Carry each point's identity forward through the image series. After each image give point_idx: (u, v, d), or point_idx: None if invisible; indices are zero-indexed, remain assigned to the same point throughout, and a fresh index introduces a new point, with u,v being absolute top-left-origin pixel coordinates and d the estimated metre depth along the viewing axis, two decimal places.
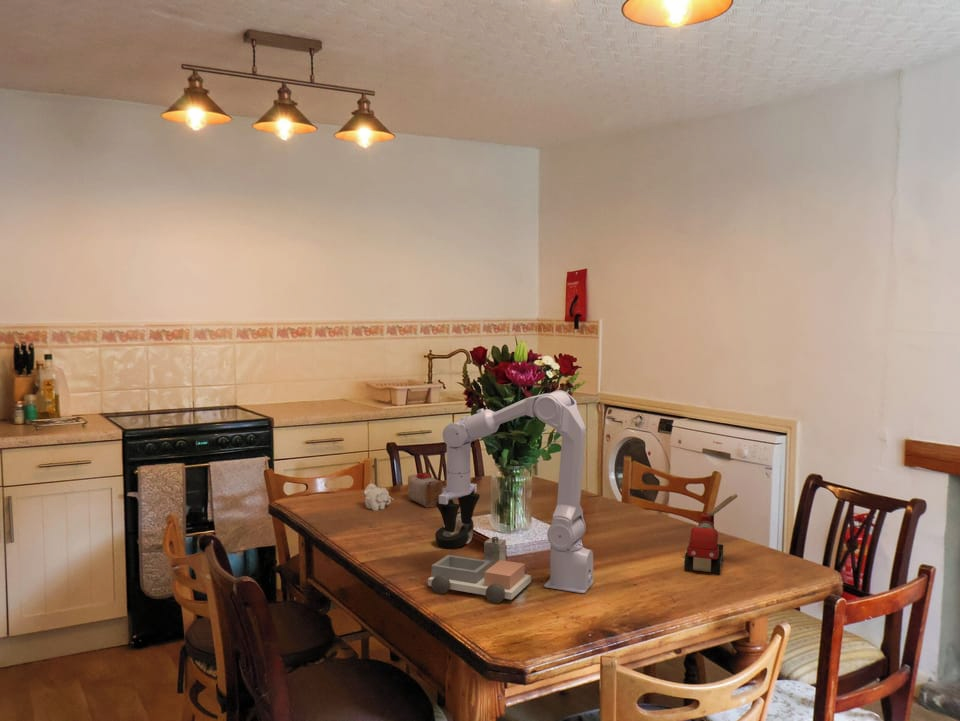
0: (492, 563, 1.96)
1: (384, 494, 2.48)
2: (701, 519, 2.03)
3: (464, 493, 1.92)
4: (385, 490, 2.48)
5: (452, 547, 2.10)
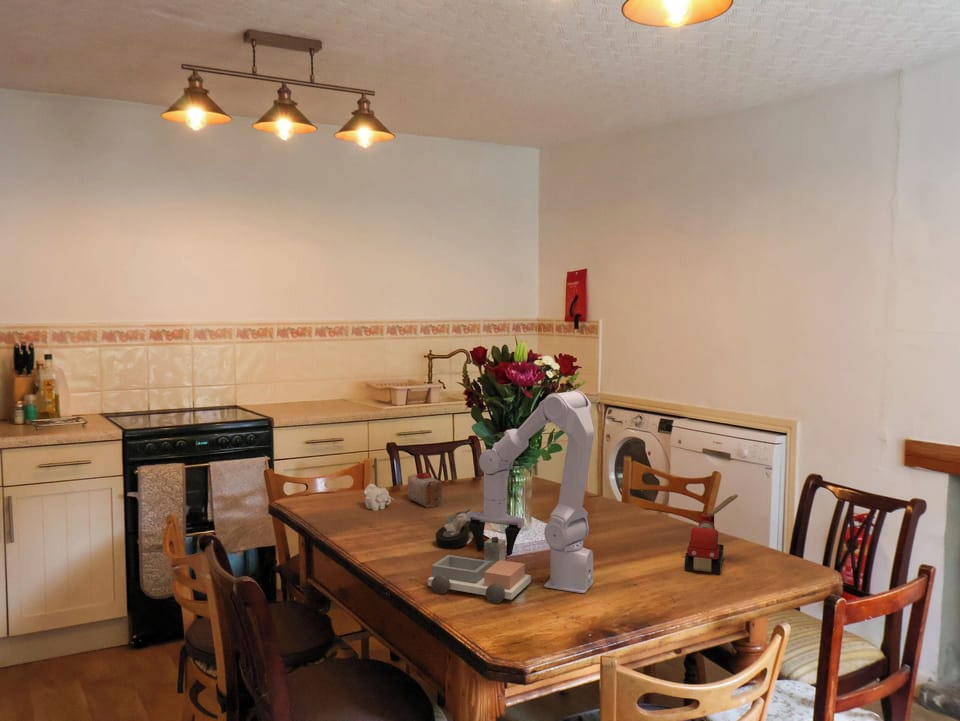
0: (492, 563, 1.96)
1: (384, 494, 2.48)
2: (702, 519, 2.03)
3: (484, 518, 1.96)
4: (385, 490, 2.48)
5: (452, 547, 2.10)
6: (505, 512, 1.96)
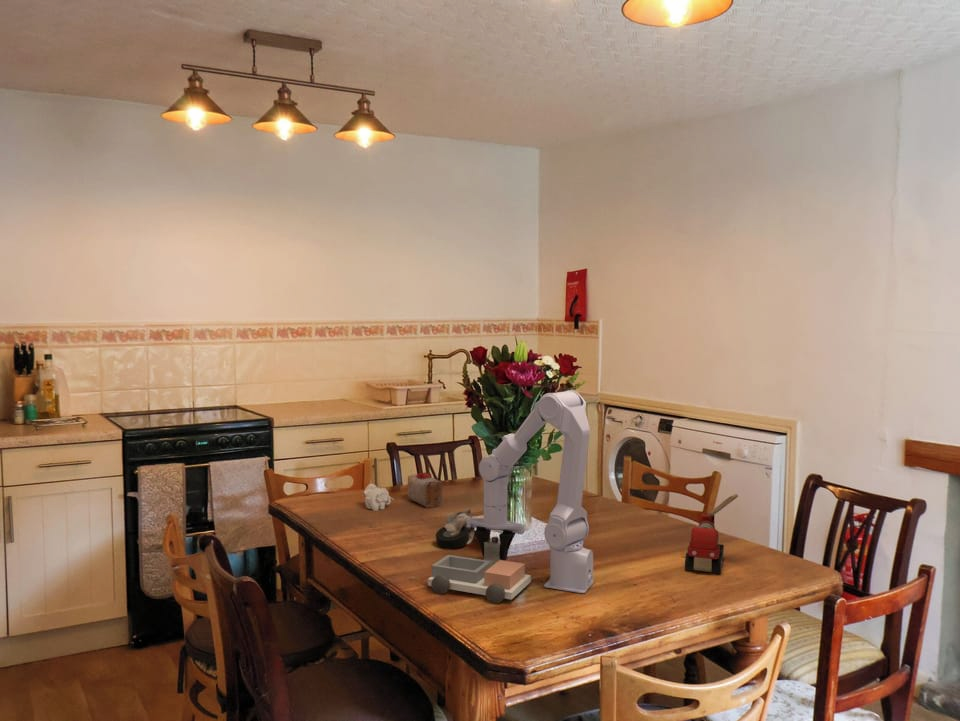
0: (492, 563, 1.96)
1: (384, 494, 2.48)
2: (702, 519, 2.02)
3: (484, 525, 1.96)
4: (385, 490, 2.48)
5: (452, 547, 2.10)
6: (505, 518, 1.96)
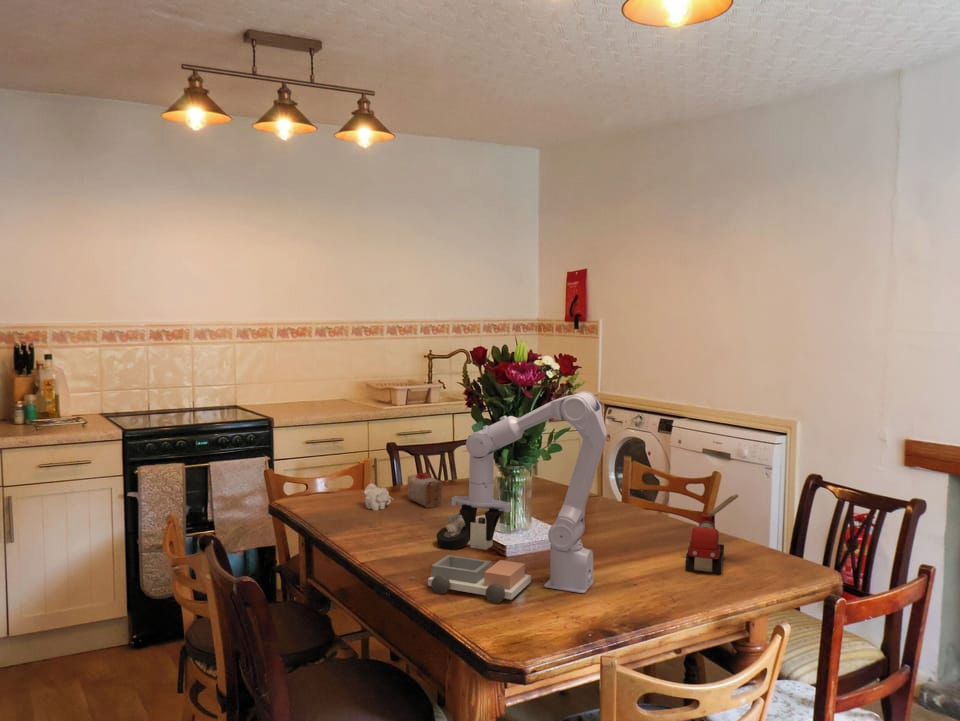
0: (478, 544, 1.90)
1: (384, 494, 2.48)
2: (702, 519, 2.02)
3: (470, 502, 1.89)
4: (385, 490, 2.48)
5: (452, 548, 2.10)
6: (491, 496, 1.89)
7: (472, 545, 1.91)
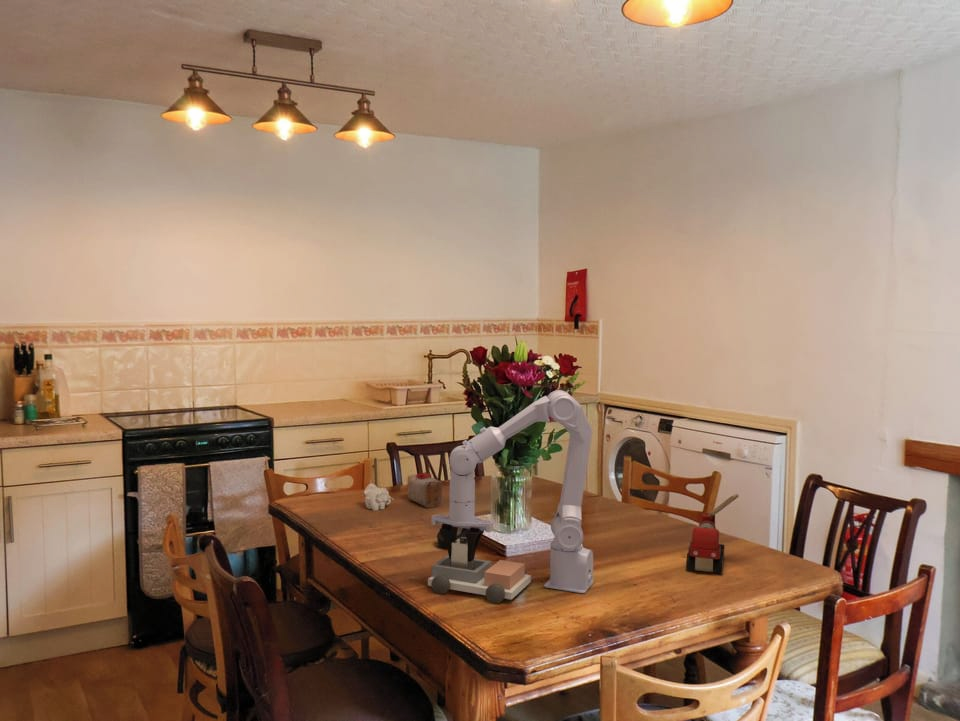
0: (460, 565, 1.83)
1: (384, 494, 2.48)
2: (703, 519, 2.02)
3: (450, 522, 1.81)
4: (385, 490, 2.48)
5: None
6: (472, 515, 1.82)
7: (453, 566, 1.83)
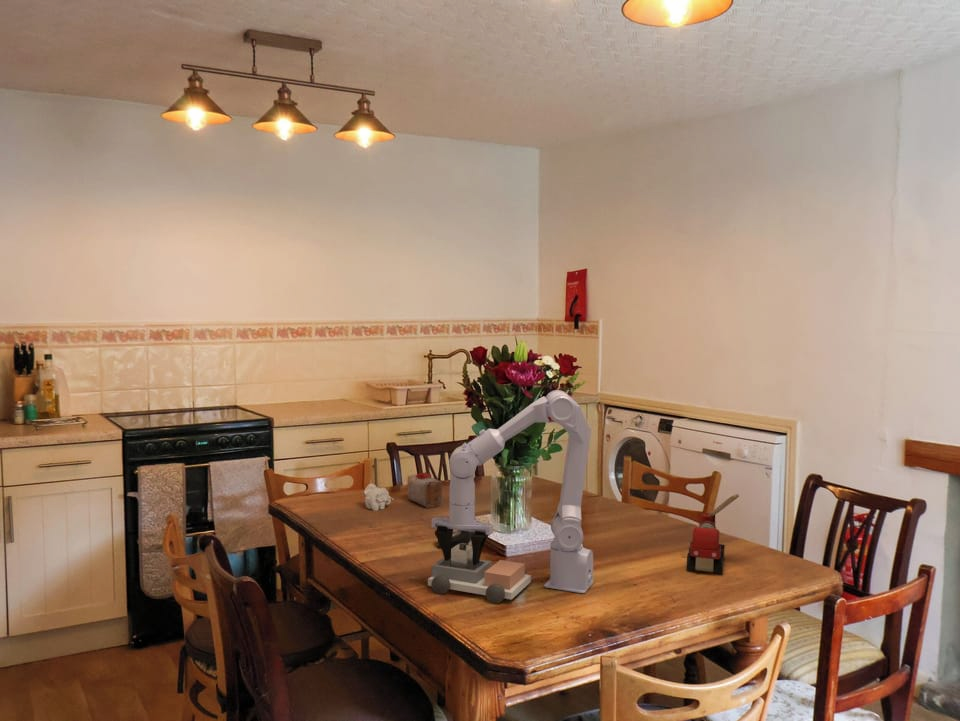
0: None
1: (384, 494, 2.48)
2: (703, 519, 2.02)
3: (450, 525, 1.81)
4: (385, 490, 2.48)
5: None
6: (472, 518, 1.82)
7: None
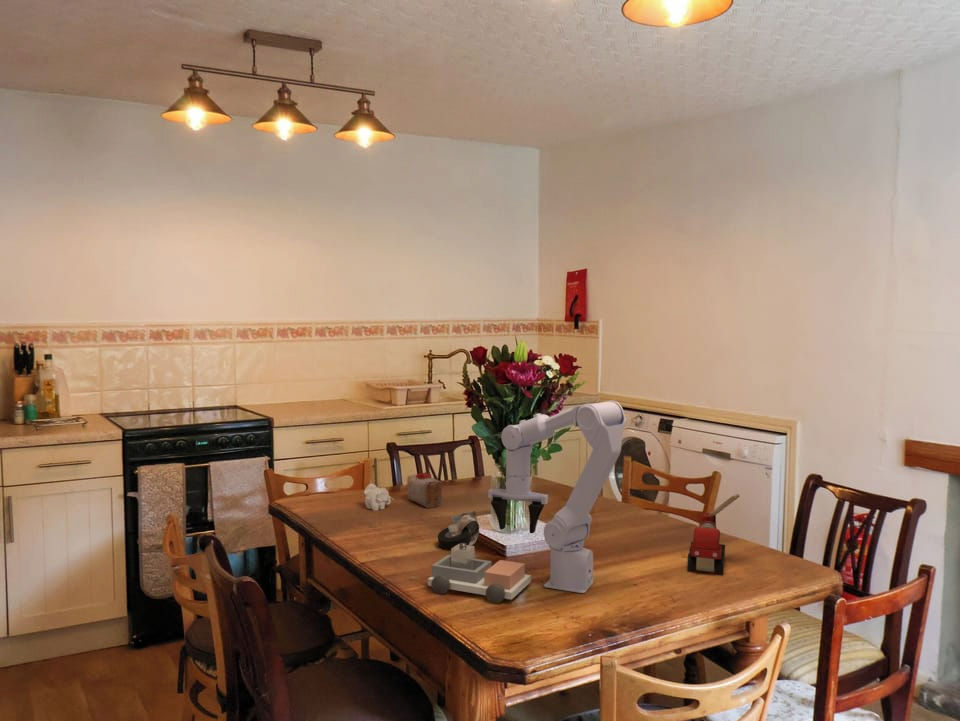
0: None
1: (384, 494, 2.48)
2: (703, 519, 2.02)
3: (507, 495, 1.93)
4: (385, 490, 2.48)
5: None
6: (528, 489, 1.93)
7: None
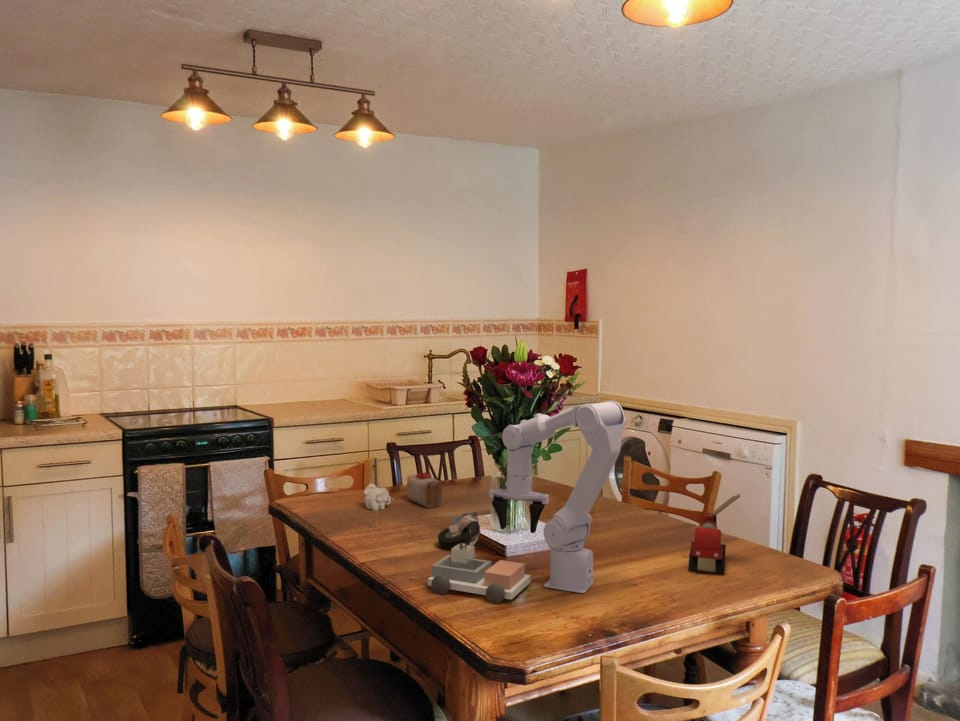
0: None
1: (384, 494, 2.48)
2: (704, 519, 2.02)
3: (508, 495, 1.93)
4: (385, 490, 2.48)
5: None
6: (529, 488, 1.93)
7: None
